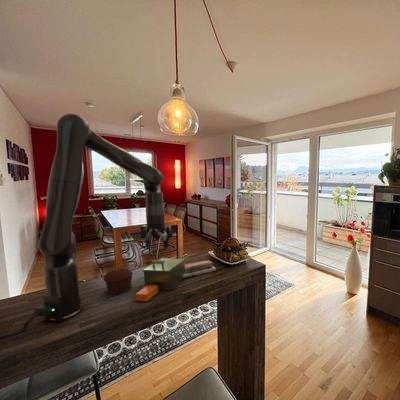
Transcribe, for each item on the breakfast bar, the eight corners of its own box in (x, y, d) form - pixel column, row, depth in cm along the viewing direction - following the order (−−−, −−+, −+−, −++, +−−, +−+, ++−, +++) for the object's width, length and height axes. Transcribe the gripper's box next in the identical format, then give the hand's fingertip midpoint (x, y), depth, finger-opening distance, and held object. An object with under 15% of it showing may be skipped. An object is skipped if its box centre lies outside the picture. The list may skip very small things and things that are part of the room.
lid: (168, 272, 103) (167, 262, 103) (142, 271, 105) (142, 261, 104) (184, 260, 118) (184, 251, 118) (162, 259, 120) (161, 251, 119)
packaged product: (182, 269, 116) (177, 263, 124) (182, 278, 116) (178, 272, 124) (216, 262, 126) (209, 257, 134) (216, 270, 126) (209, 265, 134)
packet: (158, 291, 104) (158, 285, 103) (147, 301, 96) (146, 294, 95) (148, 291, 104) (147, 284, 104) (136, 300, 96) (135, 293, 96)
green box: (170, 290, 105) (169, 272, 104) (145, 288, 106) (143, 270, 105) (185, 276, 119) (184, 260, 118) (162, 275, 121) (162, 259, 120)
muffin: (138, 283, 112) (137, 263, 111) (126, 294, 101) (124, 273, 100) (113, 284, 111) (111, 264, 110) (98, 296, 100) (96, 274, 99)
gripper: (135, 214, 101) (137, 250, 102) (165, 214, 99) (167, 251, 101) (146, 212, 108) (148, 245, 110) (174, 212, 106) (176, 245, 108)
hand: (157, 247), depth 105 cm, fingers open, 8 cm apart
